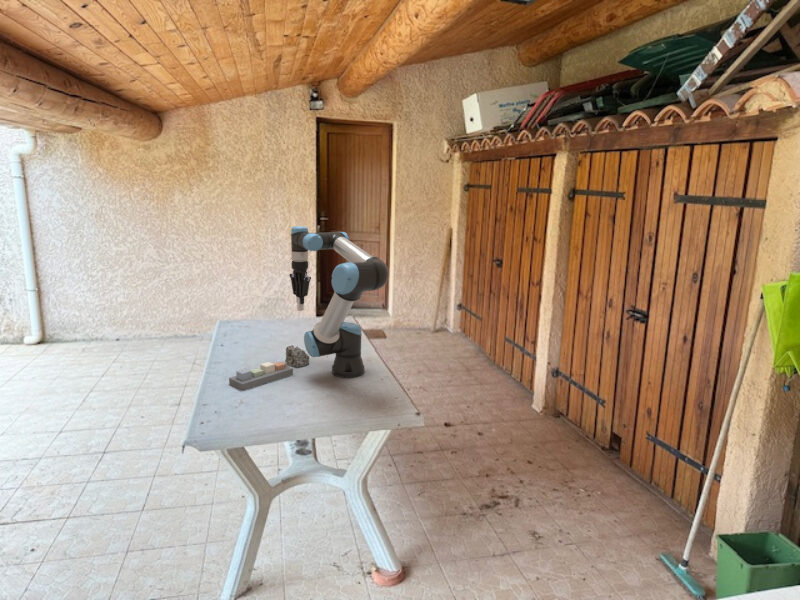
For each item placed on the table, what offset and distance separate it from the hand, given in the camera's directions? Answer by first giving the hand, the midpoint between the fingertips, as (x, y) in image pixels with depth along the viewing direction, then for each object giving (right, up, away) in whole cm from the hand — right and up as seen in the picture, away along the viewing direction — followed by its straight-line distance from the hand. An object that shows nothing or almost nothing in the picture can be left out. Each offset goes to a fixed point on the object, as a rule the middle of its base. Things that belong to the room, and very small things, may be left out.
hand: (300, 310), depth 240 cm
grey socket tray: (-14, -30, -16) cm, 37 cm away
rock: (-3, -26, +6) cm, 27 cm away
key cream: (-12, -27, -14) cm, 33 cm away
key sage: (-16, -30, -18) cm, 38 cm away
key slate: (-20, -29, -23) cm, 42 cm away
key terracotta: (-8, -28, -9) cm, 30 cm away
